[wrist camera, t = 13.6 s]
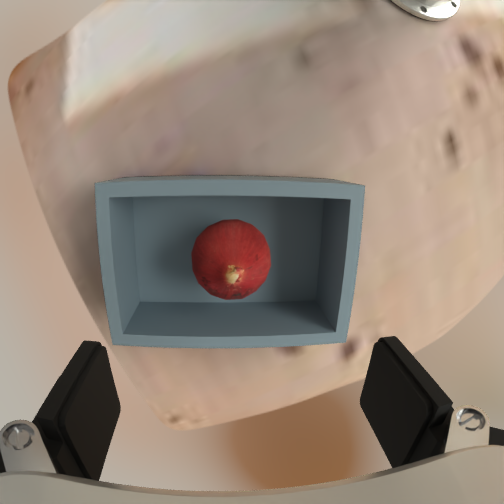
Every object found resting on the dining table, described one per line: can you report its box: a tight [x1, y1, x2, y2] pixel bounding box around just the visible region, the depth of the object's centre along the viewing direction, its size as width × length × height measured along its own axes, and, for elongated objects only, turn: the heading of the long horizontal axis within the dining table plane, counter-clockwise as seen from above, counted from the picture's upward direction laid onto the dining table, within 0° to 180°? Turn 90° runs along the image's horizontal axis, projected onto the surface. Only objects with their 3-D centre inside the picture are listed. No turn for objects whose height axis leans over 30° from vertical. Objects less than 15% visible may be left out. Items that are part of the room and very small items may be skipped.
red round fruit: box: [191, 219, 271, 300], centre depth 23 cm, size 6×6×8 cm
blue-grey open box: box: [95, 175, 365, 348], centre depth 25 cm, size 12×18×7 cm, turn 89°
